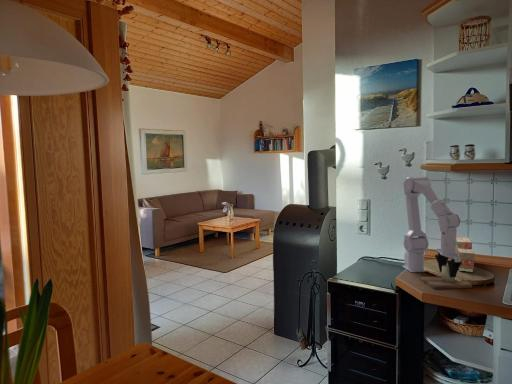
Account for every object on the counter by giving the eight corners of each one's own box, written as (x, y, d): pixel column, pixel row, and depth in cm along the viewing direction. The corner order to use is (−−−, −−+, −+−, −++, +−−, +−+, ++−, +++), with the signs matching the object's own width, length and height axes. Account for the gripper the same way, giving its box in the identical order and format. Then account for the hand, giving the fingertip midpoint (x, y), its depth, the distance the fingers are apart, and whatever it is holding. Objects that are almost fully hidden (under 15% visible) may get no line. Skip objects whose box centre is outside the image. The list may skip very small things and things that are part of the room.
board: (419, 279, 170) (419, 277, 170) (455, 278, 171) (455, 275, 171) (434, 289, 158) (434, 286, 158) (472, 287, 159) (472, 284, 159)
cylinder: (438, 279, 167) (439, 265, 166) (449, 278, 167) (449, 264, 167) (446, 282, 162) (446, 268, 161) (457, 281, 163) (457, 267, 162)
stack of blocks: (474, 273, 178) (475, 246, 177) (458, 271, 180) (459, 245, 179) (467, 260, 198) (468, 237, 196) (453, 259, 200) (454, 236, 199)
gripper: (468, 246, 156) (467, 279, 157) (447, 238, 170) (447, 268, 172) (451, 247, 156) (450, 280, 157) (432, 239, 170) (431, 269, 171)
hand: (447, 274), depth 164 cm, fingers open, 7 cm apart
